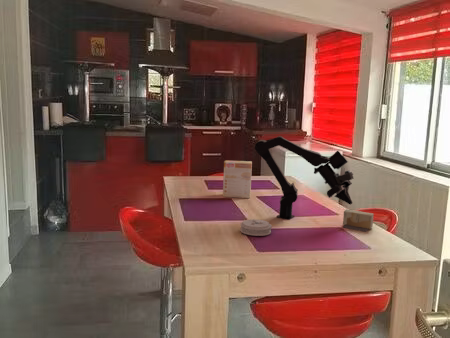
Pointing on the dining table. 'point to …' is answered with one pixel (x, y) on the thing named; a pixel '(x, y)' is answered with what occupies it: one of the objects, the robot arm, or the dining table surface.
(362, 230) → the pad
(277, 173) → the robot arm
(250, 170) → the coffeecake box
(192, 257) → the dining table surface
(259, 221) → the lid
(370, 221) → the skincare box
